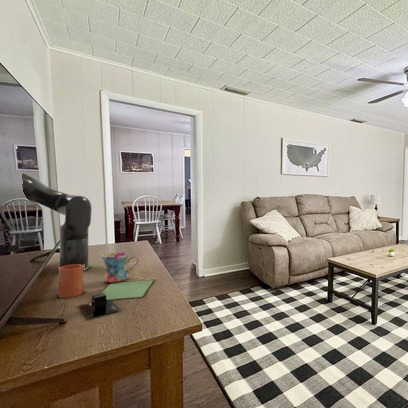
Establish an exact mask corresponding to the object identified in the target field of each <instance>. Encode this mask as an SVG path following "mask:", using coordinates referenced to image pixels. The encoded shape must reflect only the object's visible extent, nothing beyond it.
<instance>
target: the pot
mask: <svg viewBox="0 0 408 408" xmlns="http://www.w3.org/2000/svg"><path fill="white" fill-rule="evenodd" d="M82 294H84V271H83V265H81V264H73V265H66V266H62V267H60V266H59V267H58V297H59V298H62V299H68V298H73V297H77V296H80V295H82Z"/></svg>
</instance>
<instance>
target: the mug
mask: <svg viewBox="0 0 408 408" xmlns="http://www.w3.org/2000/svg"><path fill="white" fill-rule="evenodd" d="M131 255H132V253H131V252H112V253H111V252H110V253H105V254H103V255H101V259H102V260H103V262H104V263H103V264H104V267H105V272H104V276H103V278H102V282H104V283H109V284H111V283H118V282H125V281H126V280H128V279H129V278H130V275H129V273H130V270H132V269H134V267H136V266H137V265H138V263H139V261H140V259H139V257H137V256H132V257H131ZM132 259H137V260H136V263H135V264H134V265H132V267H129V268H127V266H128V263H129V262H130V260H132Z"/></svg>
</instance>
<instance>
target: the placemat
mask: <svg viewBox="0 0 408 408" xmlns="http://www.w3.org/2000/svg"><path fill="white" fill-rule="evenodd" d="M153 282H154V280H153V279H148V280H134V281H120V282H114V283H109V285H107V287H106V288H105V289H103V290H102V291H101V292H100V293H104V294H105V295H106V300H107V299H108V300H109V301H114V300H125V299H126V300H127V299H137V298H143V296H144V295H145V294H146V292H147V291H148V290H149V288H150V286H151V285H152V283H153Z"/></svg>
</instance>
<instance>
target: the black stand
mask: <svg viewBox="0 0 408 408" xmlns="http://www.w3.org/2000/svg"><path fill="white" fill-rule="evenodd" d="M80 309H82V311H83V312H84V314H85V316H86V318H87V319H88V320H90V319H94V318H98V317H103V316H106V315H110V314H115V313H118V312H119V310H118V309H117V308H116V307H115V306H114V305H113V303H112V302H111V300H108V299H107V300H106V295H105V294H104V293H101V292H98V293H94V294H91V302H90V303H85V304H81V305H80Z"/></svg>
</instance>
